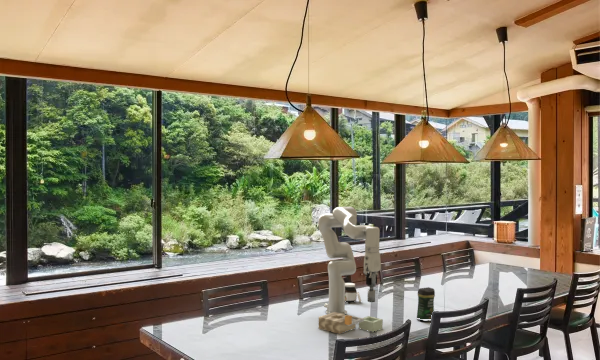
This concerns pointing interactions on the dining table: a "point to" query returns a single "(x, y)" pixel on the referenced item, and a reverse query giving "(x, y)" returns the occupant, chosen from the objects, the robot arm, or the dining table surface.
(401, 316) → the dining table surface
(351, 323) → the locking fork
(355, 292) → the spread jar
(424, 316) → the coffee jar
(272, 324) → the dining table surface
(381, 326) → the pale green square tray
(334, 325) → the socket block
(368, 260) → the robot arm
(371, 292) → the peg
